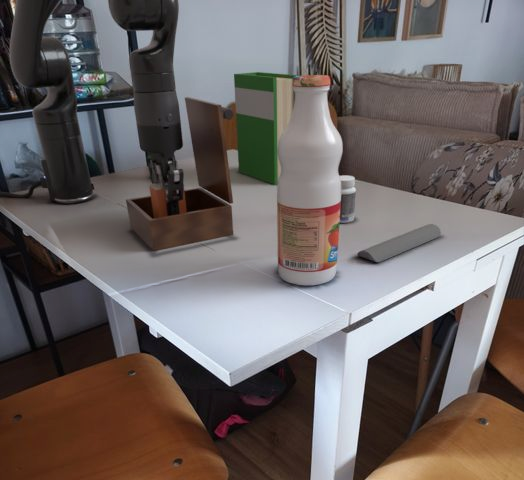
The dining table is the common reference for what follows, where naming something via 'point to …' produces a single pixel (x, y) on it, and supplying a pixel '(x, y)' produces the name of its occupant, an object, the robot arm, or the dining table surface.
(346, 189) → the pill bottle
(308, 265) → the fruit juice
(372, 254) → the gray half cylinder
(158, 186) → the drink carton
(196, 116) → the lid
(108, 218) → the dining table surface
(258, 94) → the hardback book
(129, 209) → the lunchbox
